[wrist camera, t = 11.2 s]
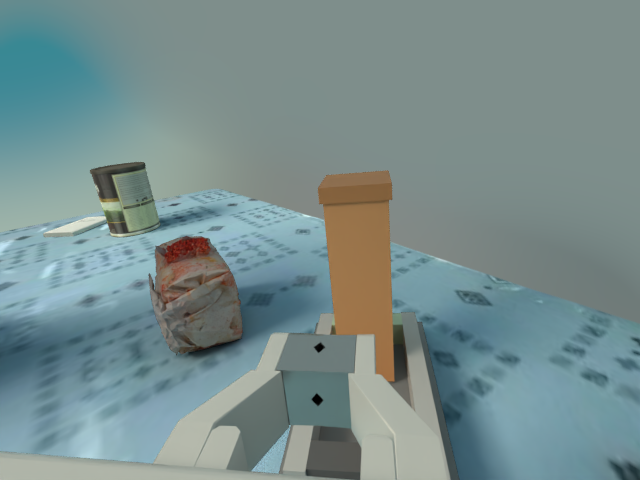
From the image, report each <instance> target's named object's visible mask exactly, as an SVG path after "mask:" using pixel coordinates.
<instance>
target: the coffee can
mask: <svg viewBox="0 0 640 480" xmlns="http://www.w3.org/2000/svg"><path fill="white" fill-rule="evenodd" d="M90 173H91V174H92V177H93V180H94V183H95V186H96V189H97V192H98V196H99V198H100V202H101V205H102V207H103V211H104V214H105V217H106V220H107V223H108V226H109V229H110V234H111V236H114V237H128V236H134V235H139V234H142V233H146V232H149V231H152V230H154V229H156V228H158V227H159V226H160V221H159V218H158V214H157V210H156V207H155V203H154V199H153V195H152V191H151V188H150V184H149V180H148V176H147V172H146V169H145V163H144V162H134V163H124V164H117V165H110V166H105V167H99V168H95V169H92V170H90Z"/></svg>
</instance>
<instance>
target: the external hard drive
mask: <svg viewBox="0 0 640 480" xmlns="http://www.w3.org/2000/svg"><path fill="white" fill-rule="evenodd" d="M104 223H107V220H106V217H87V218H84V219H82V220H79V221H76V222H73V223H70V224H68V225H65V226H62V227H59V228H56V229H54V230H51V231H48V232H45V233H43V235H44V237H63V236H75V235H78V234H80V233H83V232H85V231H87V230H90V229H92V228H95V227H97V226H100V225H102V224H104Z"/></svg>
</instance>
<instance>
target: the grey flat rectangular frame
mask: <svg viewBox="0 0 640 480" xmlns="http://www.w3.org/2000/svg"><path fill="white" fill-rule="evenodd" d="M392 320H393V351H394V382H393V381H388V382H389V384H390V385H391V386H392V387H393V388H394V389H395V390H396V391H397V392H398V393H399V395H400V396H401V397H402V398H403V399H404V400H405V401H406V402H407V403H408V404H409V406H410V407H411V408H412V409H413V410H414V411H415V412H416V413H417V414H418V416H419V417H420V418H421V419H422V420H423V421H424V422H425V423H426V424H427V425H428V427H429V428H430V429H431V430H432V431H433V432H434V433H435V434H436V435H437V436H438V438H439V442H440V447H441V452H442V457H443V462H444V467H445V471H446V476H447V480H459V476H458V472H457V468H456V464H455V459H454V455H453V451H452V447H451V443H450V438H449V434H448V430H447V426H446V422H445V417H444V413H443V409H442V405H441V400H440V396H439V392H438V388H437V384H436V379H435V375H434V371H433V367H432V363H431V358H430V354H429V350H428V346H427V341H426V337H425V333H424V329H423V325H422V322H417V320H416V315H415V312H401V313H392ZM314 334H323V335H336V330H335V319H334V313H321V315H320V319H319V323H317V324H316V328H315V332H314ZM361 451H362V448H361V446H360V445H359V443H358V441H357V439H356V437H355V435H354V434H353V432H352V429H350V428H338V427H327V426H307V425H291V427H290V431H289V435H288V439H287V443H286V447H285V451H284V455H283V459H282V463H281V467H280V471H279V474H288V475H301V476H313V477H325V478H338V479H350V480H360V475H361Z"/></svg>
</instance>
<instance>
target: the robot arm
mask: <svg viewBox="0 0 640 480" xmlns="http://www.w3.org/2000/svg"><path fill="white" fill-rule="evenodd" d="M289 425H307V426H327V427H338V428H350V429H352V432H353V434H354V435H355V437H356V439H357V441H358V443H359V445H360V446H361V448H362V451H361V475H360V480H447V476H446V471H445V467H444V462H443V457H442V452H441V447H440V442H439V438H438V436H437V435H436V434H435V433H434V432H433V431H432V430H431V429H430V428H429V427H428V425H427V424H426V423H425V422H424V421H423V420H422V419H421V418H420V417H419V416H418V414H417V413H416V412H415V411H414V410H413V409H412V408H411V407H410V406H409V404H408V403H407V402H406V401H405V400H404V399H403V398H402V397H401V396H400V395H399V393H398V392H397V391H396V390H395V389H394V388H393V387H392V386H391V385H390V384H389V382H388V381H387V380H386V379H385V378H384V377H383V376H382V375H380V374H376V350H375V335H374V334H357V335H323V334H306V333H273V334H272V335H271V336H270V339H269V341H268V343H267V346H266V348H265V350H264V353H263V355H262V357H261V360H260V362H259V364H258V367H257V369H256V370H250V371H249V372H248V373H246V374H245V375H243V376H242V377H240V378H239V379H238V380H236V381H235V382H233V383H232V384H231V385H229V386H228V387H226V388H225V389H223V390H222V391H221V392H219V393H218V394H216V395H215V396H213V397H212V398H211V399H209V400H208V401H206V402H205V403H204V404H202V405H201V406H199V407H198V408H196V409H195V410H194V411H192V412H191V413H189V414H188V415H186V416H185V417H184V418H182V419H181V420H179V421H178V423H177V424H176V426H175V428H174V429H173V431H172V432H171V434H170V436H169V437H168V439H167V441H166V442H165V444H164V446H163V447H162V449H161V451H160V452H159V454H158V456H157V457H156V459H155V461H154V462H153V464H152V463H140V462H127V461H115V460H103V459H90V458H78V457H65V456H53V455H41V454H28V453H16V452H4V451H0V480H350V479H338V478H325V477H313V476H301V475H288V474H276V473H263V472H251V470H252V469H253V468H254V467H255V466H256V465H257V463H258V462H259V461H260V460H261V459H262V458H263V456H264V455H265V454H266V453H267V452H268V451H269V450H270V448H271V447H272V446H273V445H274V444H275V443H276V441H277V440H278V439H279V438H280V437H281V436H282V435H283V433H284V432H285V431H286V430H287V429H288V428H289Z"/></svg>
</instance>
